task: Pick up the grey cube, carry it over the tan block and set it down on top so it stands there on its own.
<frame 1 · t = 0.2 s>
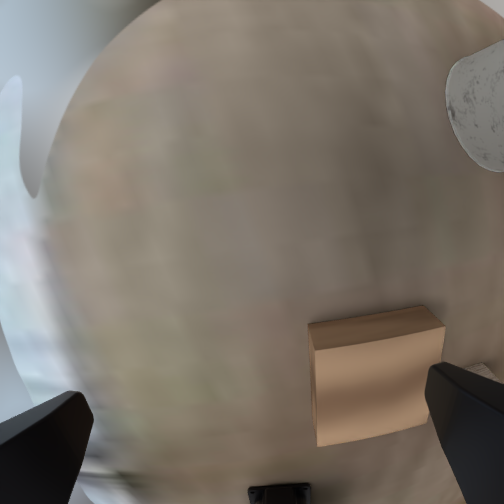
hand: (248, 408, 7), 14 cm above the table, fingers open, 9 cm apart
tan block: (365, 364, 23), on the table
white cylinder: (489, 112, 18), on the table
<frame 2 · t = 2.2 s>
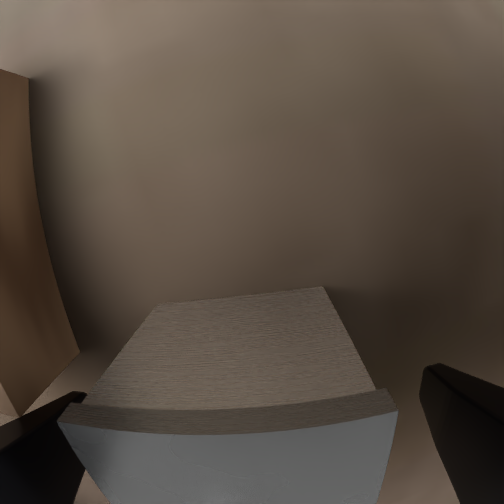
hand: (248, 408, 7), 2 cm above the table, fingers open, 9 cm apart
grey cube: (249, 366, 9), on the table
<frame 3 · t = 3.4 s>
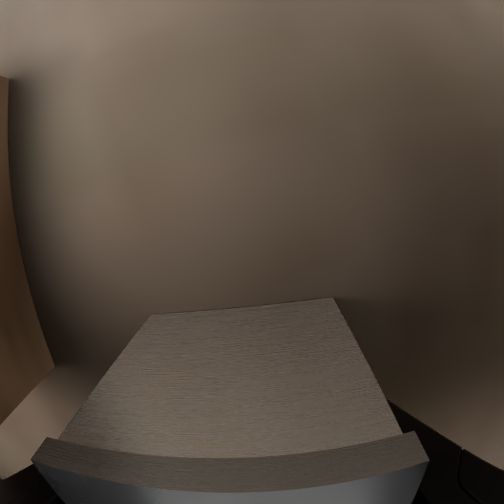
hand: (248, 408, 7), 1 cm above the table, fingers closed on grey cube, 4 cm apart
grey cube: (250, 383, 8), on the table, touching gripper
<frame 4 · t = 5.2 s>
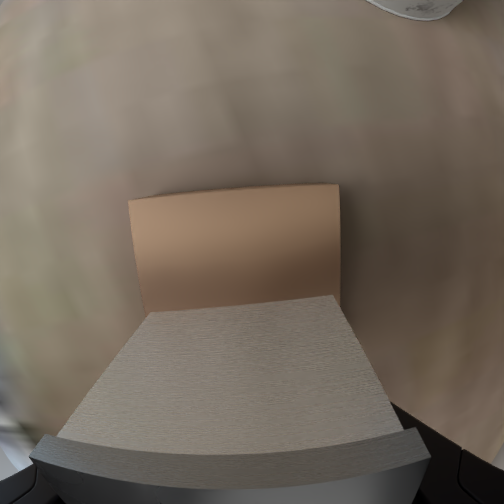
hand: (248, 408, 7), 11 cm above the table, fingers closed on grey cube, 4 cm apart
tan block: (243, 269, 18), on the table
grey cube: (250, 381, 8), point 10 cm above the table, touching gripper
when the fingers open (6 cm above the table, at t = 7.3 s): grey cube drops 1 cm, point 4 cm above the table.
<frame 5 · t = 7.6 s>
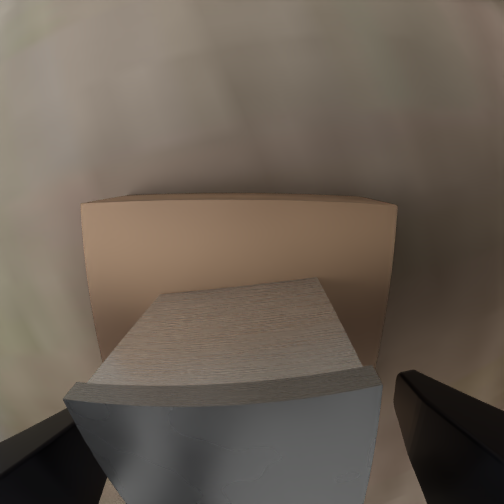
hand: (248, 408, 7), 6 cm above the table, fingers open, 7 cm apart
tan block: (242, 304, 13), on the table
grey cube: (247, 355, 9), point 4 cm above the table
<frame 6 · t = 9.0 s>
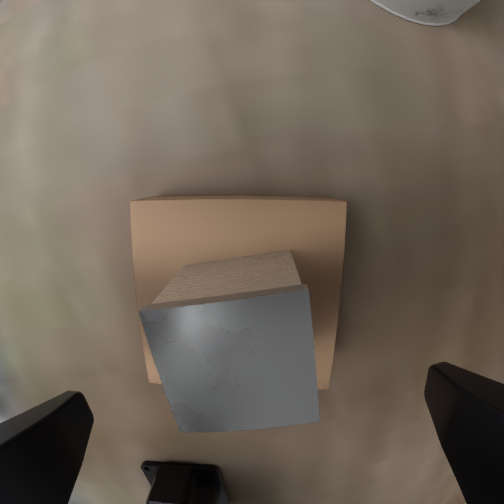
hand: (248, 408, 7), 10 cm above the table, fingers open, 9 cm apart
tan block: (241, 278, 18), on the table, touching grey cube
grey cube: (244, 307, 14), point 4 cm above the table, touching tan block
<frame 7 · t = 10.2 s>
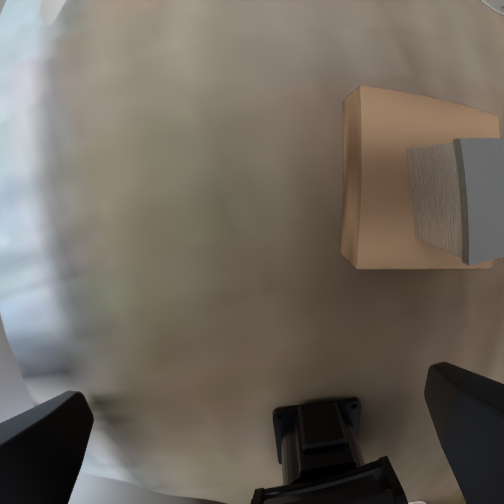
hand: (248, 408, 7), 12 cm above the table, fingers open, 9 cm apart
tan block: (409, 181, 18), on the table, touching grey cube
grey cube: (446, 189, 14), point 4 cm above the table, touching tan block
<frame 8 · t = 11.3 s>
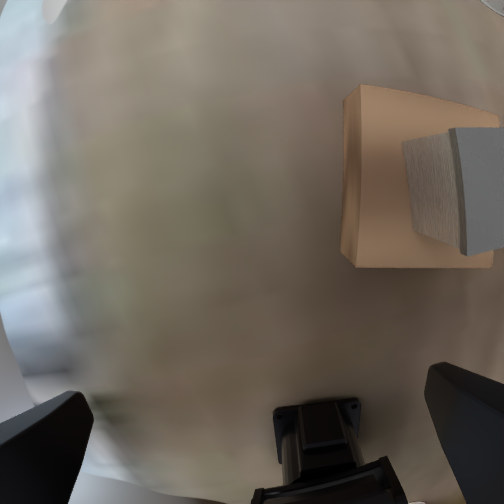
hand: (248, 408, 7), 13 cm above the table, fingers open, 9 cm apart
tan block: (409, 180, 18), on the table
grey cube: (443, 181, 14), point 4 cm above the table
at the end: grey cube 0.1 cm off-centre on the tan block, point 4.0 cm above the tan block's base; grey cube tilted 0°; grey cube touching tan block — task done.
